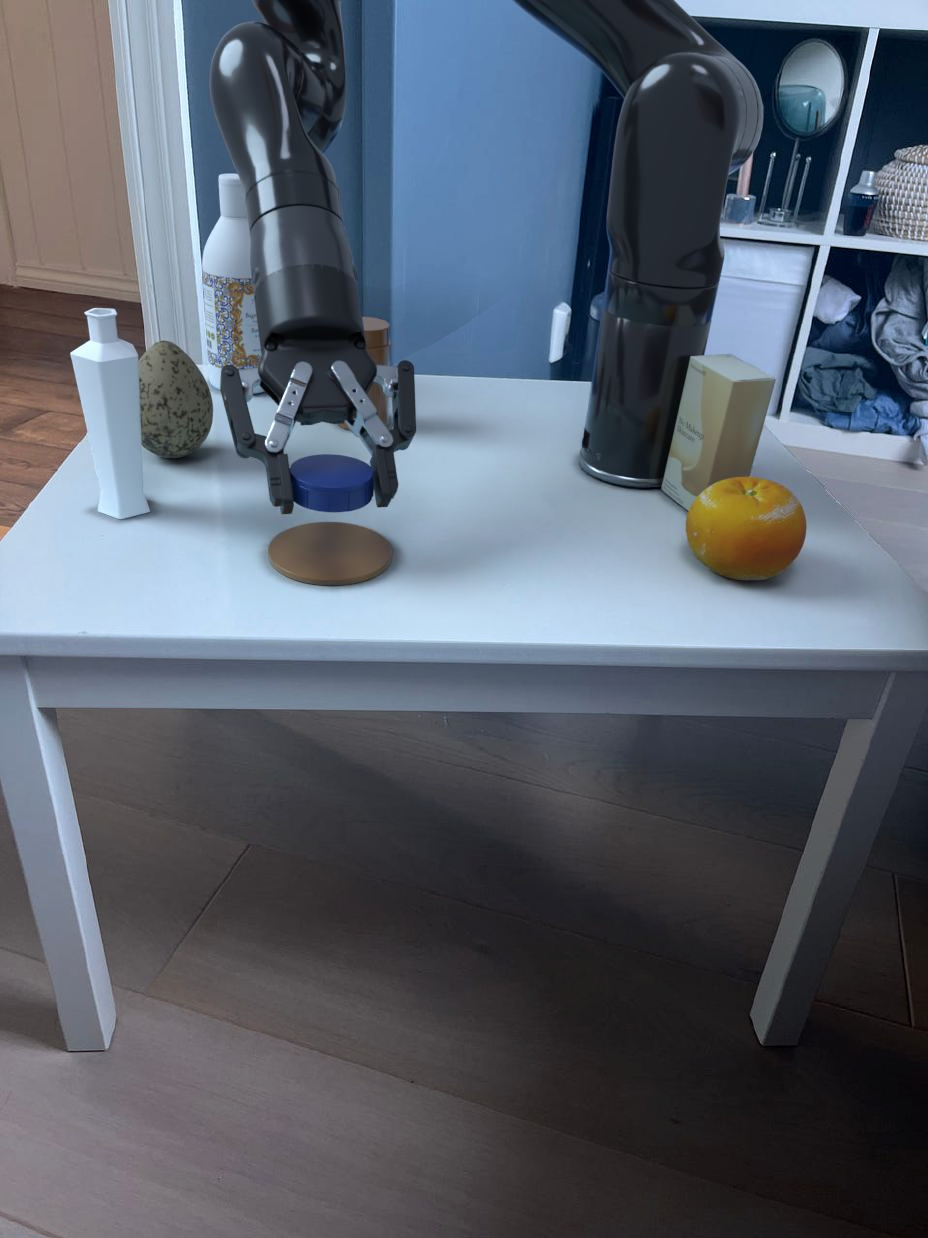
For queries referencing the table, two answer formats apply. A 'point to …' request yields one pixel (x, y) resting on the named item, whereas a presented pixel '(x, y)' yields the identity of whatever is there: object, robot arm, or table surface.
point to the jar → (377, 362)
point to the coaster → (330, 553)
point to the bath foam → (230, 287)
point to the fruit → (746, 528)
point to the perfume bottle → (112, 414)
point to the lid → (331, 483)
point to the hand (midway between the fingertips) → (336, 506)
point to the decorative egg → (173, 402)
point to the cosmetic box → (716, 425)
